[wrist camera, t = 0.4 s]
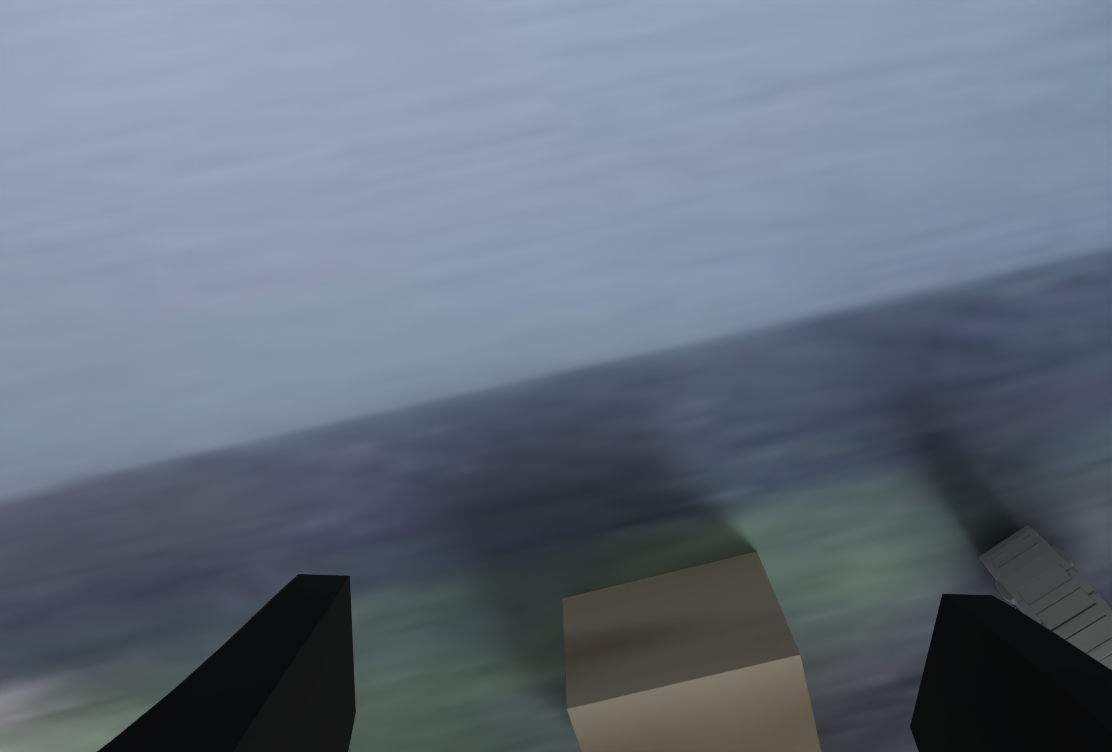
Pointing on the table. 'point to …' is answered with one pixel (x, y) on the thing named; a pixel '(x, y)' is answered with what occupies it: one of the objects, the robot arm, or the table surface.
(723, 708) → the birch block
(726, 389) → the table surface
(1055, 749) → the robot arm
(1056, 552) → the wristwatch
